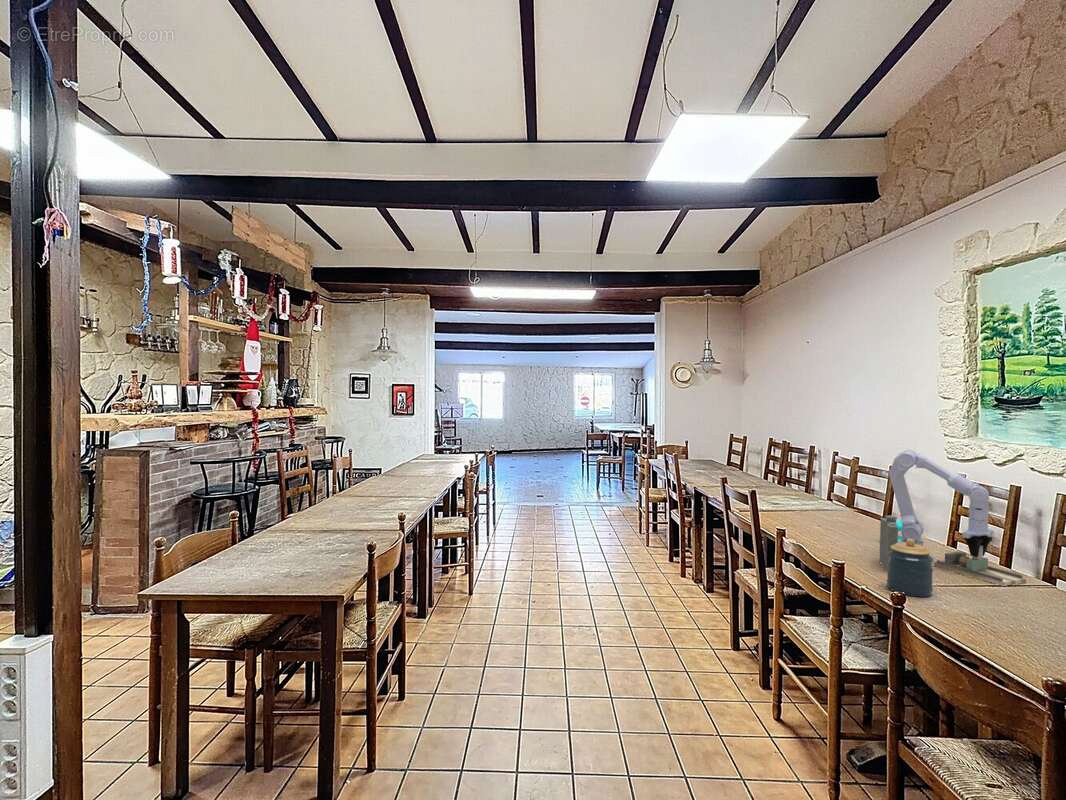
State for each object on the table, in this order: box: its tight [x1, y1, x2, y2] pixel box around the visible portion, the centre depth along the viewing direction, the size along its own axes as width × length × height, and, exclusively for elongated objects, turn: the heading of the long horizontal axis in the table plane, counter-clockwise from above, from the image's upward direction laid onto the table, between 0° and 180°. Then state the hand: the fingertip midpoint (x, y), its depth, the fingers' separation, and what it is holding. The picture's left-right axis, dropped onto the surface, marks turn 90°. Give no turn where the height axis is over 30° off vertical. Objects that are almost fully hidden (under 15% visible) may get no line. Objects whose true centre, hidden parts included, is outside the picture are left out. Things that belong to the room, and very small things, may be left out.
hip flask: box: [879, 515, 899, 573], centre depth 215 cm, size 16×4×20 cm, turn 159°
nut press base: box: [933, 551, 1027, 587], centre depth 209 cm, size 12×24×6 cm, turn 21°
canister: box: [886, 539, 934, 598], centre depth 191 cm, size 13×13×18 cm
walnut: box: [959, 555, 971, 567], centre depth 214 cm, size 4×4×4 cm
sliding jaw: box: [966, 545, 989, 571], centre depth 210 cm, size 9×3×9 cm, turn 111°
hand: (977, 555), depth 210 cm, fingers closed on sliding jaw, 3 cm apart
